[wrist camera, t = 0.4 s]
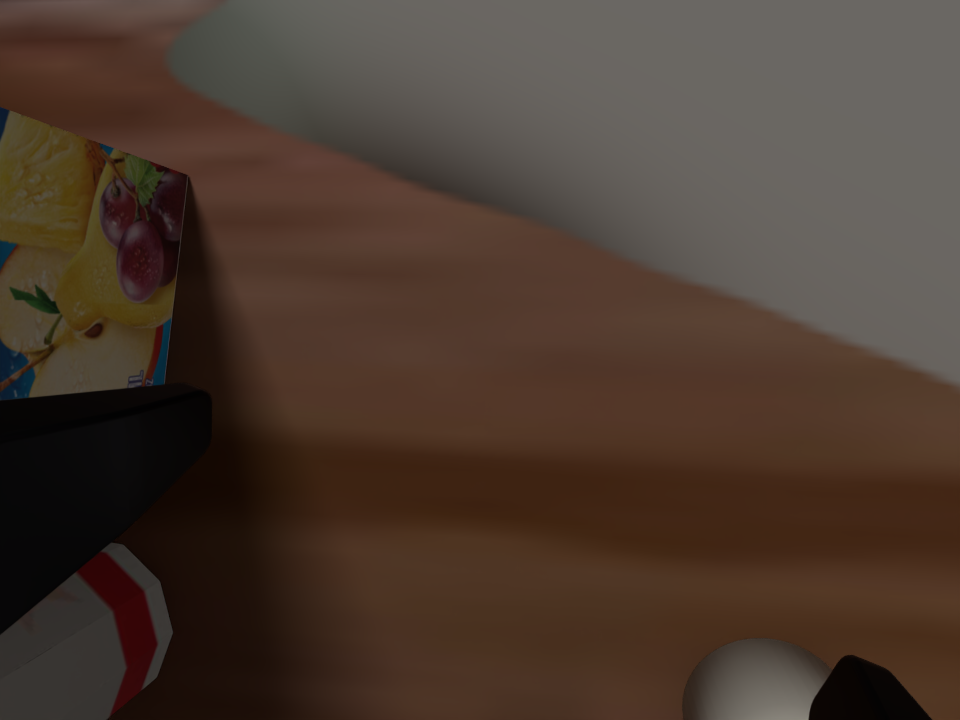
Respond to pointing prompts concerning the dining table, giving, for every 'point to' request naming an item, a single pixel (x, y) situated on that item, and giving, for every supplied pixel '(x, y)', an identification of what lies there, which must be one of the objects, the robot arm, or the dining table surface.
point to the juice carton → (83, 262)
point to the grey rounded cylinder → (754, 682)
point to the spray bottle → (86, 643)
